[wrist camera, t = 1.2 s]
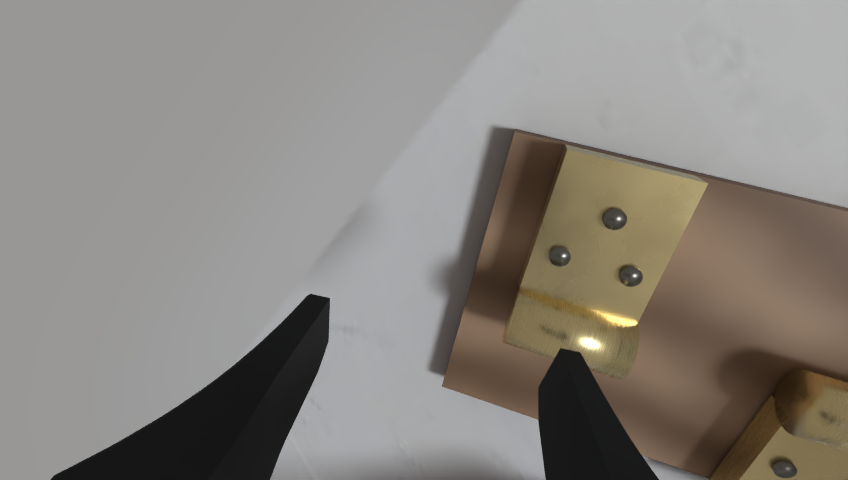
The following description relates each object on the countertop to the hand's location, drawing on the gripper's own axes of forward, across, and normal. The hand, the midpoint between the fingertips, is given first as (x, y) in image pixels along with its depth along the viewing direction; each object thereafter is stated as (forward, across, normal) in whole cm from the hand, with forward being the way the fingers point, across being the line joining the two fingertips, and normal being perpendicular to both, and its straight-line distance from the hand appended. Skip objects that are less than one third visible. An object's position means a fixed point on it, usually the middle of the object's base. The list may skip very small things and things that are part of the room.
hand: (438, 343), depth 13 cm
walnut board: (+9, -14, +5) cm, 18 cm away
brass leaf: (+9, -7, +2) cm, 12 cm away
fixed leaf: (+6, -22, +9) cm, 25 cm away
